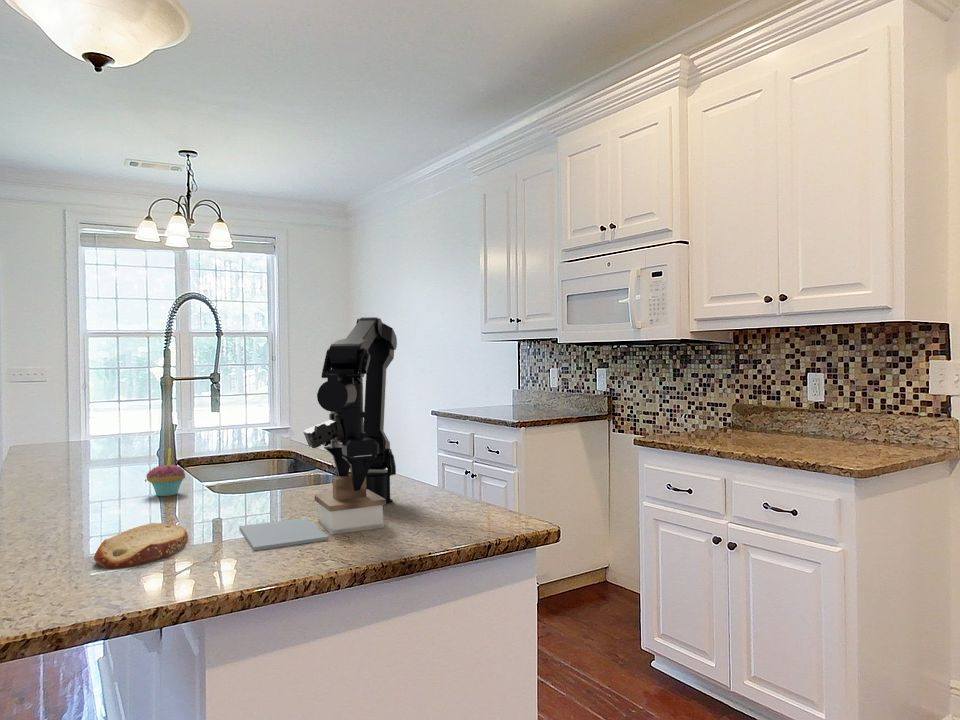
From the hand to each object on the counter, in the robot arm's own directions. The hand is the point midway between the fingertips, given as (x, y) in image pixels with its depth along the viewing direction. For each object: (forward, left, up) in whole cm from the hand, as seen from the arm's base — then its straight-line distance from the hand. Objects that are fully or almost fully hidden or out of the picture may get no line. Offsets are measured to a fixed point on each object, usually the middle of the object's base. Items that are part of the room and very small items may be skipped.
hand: (349, 486), depth 132 cm
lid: (0, 0, -3) cm, 3 cm away
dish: (0, 0, -8) cm, 8 cm away
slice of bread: (+36, -3, -8) cm, 37 cm away
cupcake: (+30, -51, -8) cm, 60 cm away
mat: (+13, 0, -8) cm, 15 cm away
